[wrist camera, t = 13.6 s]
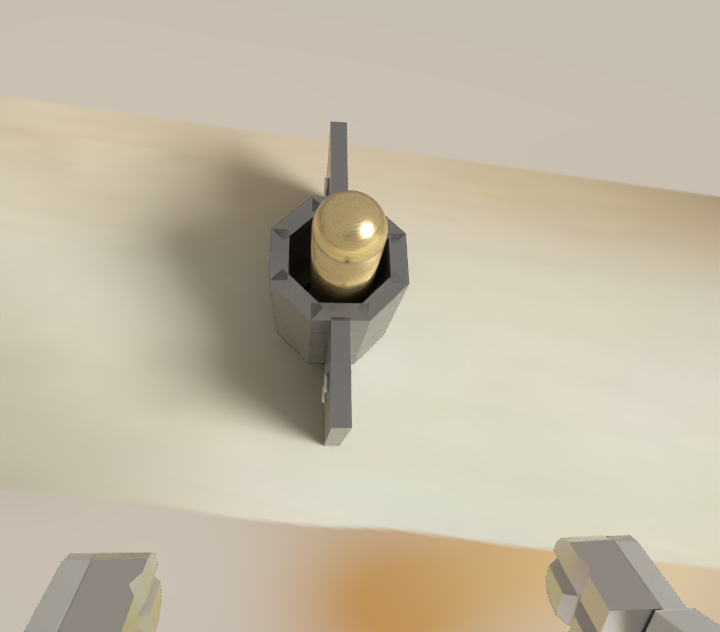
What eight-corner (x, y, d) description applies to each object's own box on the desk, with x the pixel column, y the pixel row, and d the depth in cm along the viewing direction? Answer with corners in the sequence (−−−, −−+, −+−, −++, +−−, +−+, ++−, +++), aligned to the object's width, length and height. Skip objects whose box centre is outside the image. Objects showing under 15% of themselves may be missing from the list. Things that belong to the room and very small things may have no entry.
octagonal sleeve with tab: (378, 204, 31) (398, 125, 24) (388, 444, 25) (418, 427, 19) (282, 200, 30) (276, 118, 24) (272, 446, 25) (261, 428, 18)
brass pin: (360, 290, 28) (392, 176, 18) (361, 338, 27) (395, 246, 17) (310, 288, 28) (313, 171, 18) (308, 336, 27) (311, 242, 17)
